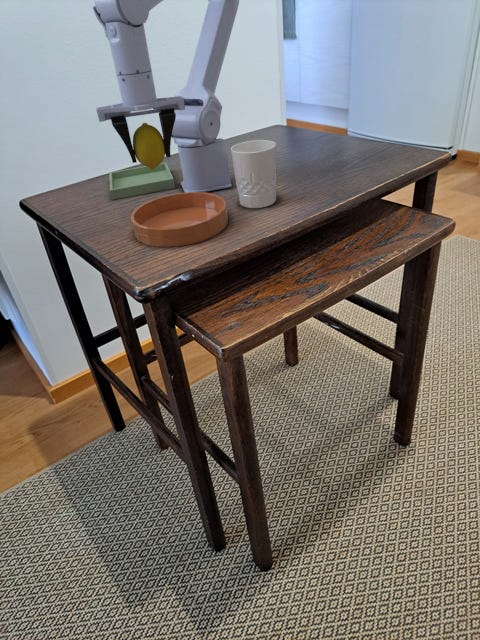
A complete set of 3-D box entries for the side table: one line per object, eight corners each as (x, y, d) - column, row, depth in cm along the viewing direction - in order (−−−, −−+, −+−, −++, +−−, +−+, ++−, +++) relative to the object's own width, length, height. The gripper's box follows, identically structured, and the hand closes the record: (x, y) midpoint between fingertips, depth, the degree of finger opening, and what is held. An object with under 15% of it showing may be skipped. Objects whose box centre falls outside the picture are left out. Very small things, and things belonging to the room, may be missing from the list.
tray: (168, 170, 105) (166, 162, 104) (175, 188, 94) (173, 178, 93) (111, 181, 103) (109, 172, 102) (112, 199, 92) (109, 190, 91)
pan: (217, 201, 85) (215, 186, 84) (237, 234, 72) (235, 217, 71) (132, 217, 83) (128, 202, 81) (137, 254, 70) (133, 237, 68)
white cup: (243, 213, 79) (237, 155, 73) (232, 199, 86) (225, 144, 80) (285, 204, 80) (282, 147, 75) (271, 191, 87) (267, 137, 81)
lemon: (160, 163, 84) (152, 118, 80) (173, 169, 81) (165, 121, 76) (133, 170, 82) (123, 124, 78) (145, 176, 78) (135, 128, 74)
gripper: (88, 80, 68) (110, 170, 76) (181, 69, 71) (194, 157, 78) (89, 76, 74) (109, 160, 82) (175, 66, 76) (188, 148, 84)
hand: (151, 158), depth 80 cm, fingers closed on lemon, 5 cm apart
